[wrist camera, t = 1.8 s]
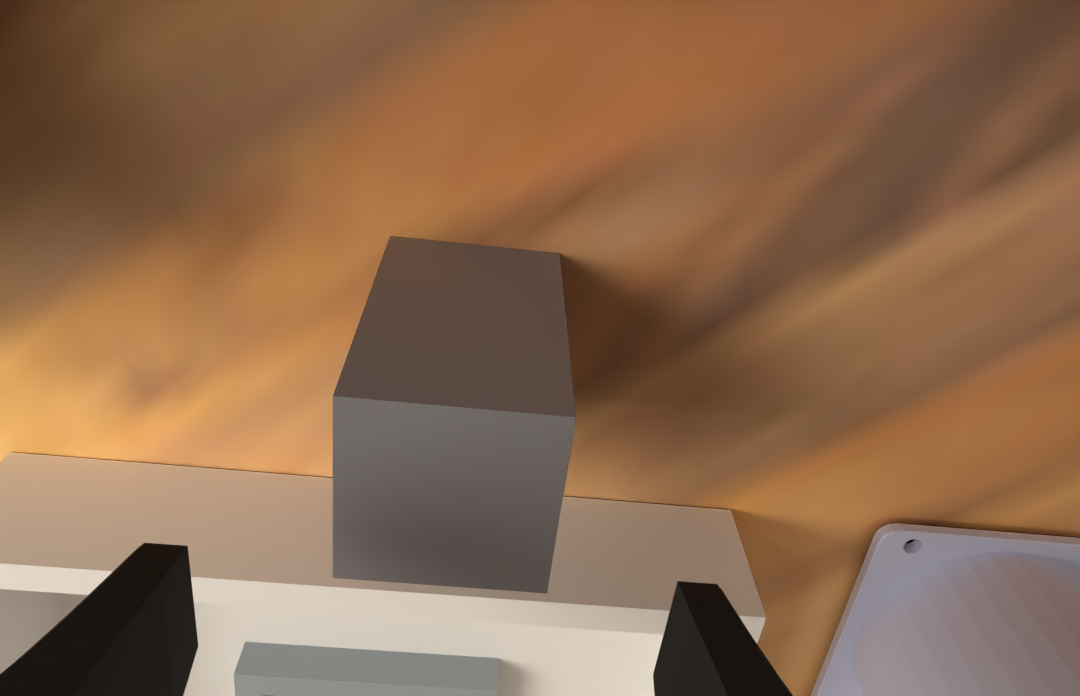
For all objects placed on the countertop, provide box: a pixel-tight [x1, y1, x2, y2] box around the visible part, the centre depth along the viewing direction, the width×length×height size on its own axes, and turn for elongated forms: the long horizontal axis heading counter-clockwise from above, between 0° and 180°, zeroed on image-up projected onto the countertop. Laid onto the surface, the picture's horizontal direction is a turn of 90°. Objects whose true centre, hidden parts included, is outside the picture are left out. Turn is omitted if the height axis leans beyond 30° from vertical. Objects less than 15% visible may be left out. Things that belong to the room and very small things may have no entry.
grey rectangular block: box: [333, 236, 576, 593], centre depth 18 cm, size 4×4×7 cm
